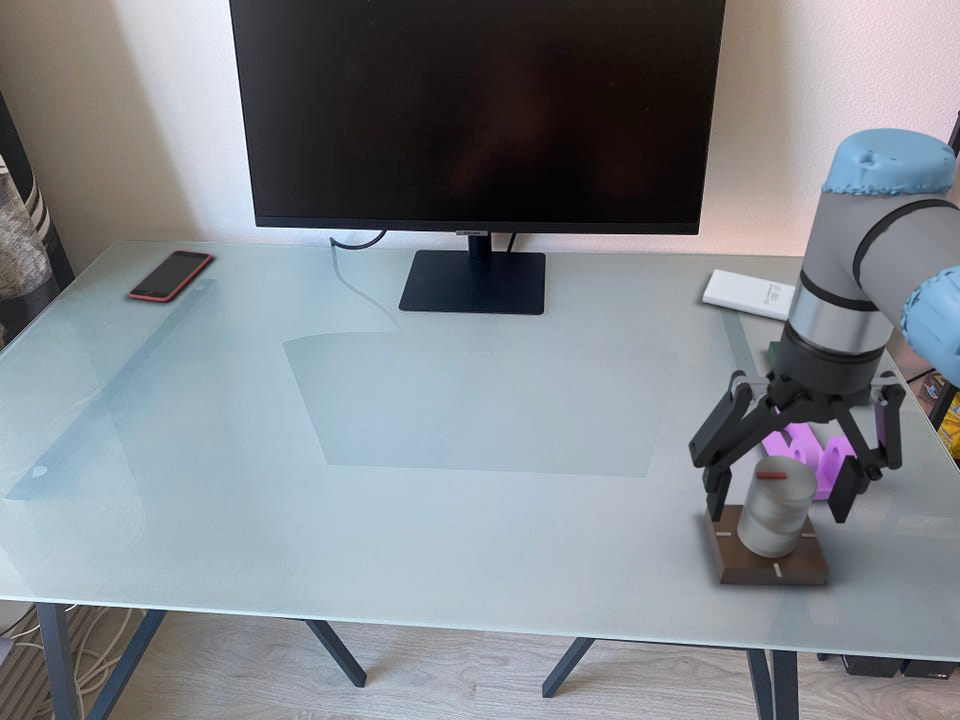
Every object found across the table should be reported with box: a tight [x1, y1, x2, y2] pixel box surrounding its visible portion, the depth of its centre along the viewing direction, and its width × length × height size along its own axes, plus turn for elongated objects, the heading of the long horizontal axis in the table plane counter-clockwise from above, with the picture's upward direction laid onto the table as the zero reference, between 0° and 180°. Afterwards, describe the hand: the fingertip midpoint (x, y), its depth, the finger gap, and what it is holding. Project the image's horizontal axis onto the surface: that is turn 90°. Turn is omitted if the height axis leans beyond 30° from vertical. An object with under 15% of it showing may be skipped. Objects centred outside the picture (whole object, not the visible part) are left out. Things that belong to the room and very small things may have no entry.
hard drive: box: [702, 268, 796, 322], centre depth 112 cm, size 2×8×12 cm
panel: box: [703, 503, 830, 586], centre depth 76 cm, size 10×10×3 cm
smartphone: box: [128, 249, 212, 302], centre depth 121 cm, size 7×1×14 cm
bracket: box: [761, 409, 857, 501], centre depth 85 cm, size 13×6×7 cm, turn 4°
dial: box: [737, 455, 818, 558], centre depth 73 cm, size 6×6×9 cm
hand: (773, 511), depth 73 cm, fingers open, 11 cm apart
